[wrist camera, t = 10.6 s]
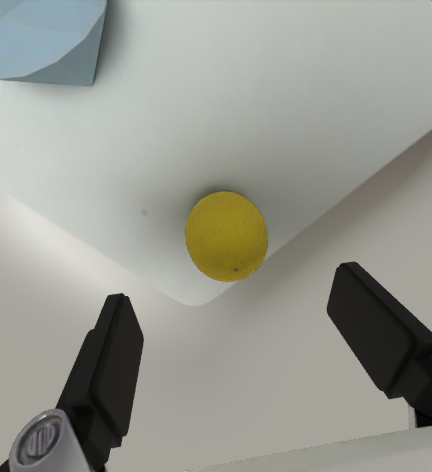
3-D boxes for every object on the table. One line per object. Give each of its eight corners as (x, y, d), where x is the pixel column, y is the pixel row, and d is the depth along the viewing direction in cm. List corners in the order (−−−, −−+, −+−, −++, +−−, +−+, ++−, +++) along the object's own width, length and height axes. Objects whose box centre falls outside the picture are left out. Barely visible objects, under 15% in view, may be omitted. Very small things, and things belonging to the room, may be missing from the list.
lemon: (217, 249, 21) (231, 319, 14) (172, 211, 19) (162, 273, 12) (264, 209, 20) (304, 267, 13) (220, 162, 17) (241, 202, 10)
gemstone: (153, 123, 13) (91, 20, 8) (33, 151, 14) (-87, 76, 9) (147, 24, 15) (95, -106, 10) (42, 55, 16) (-52, -49, 11)
